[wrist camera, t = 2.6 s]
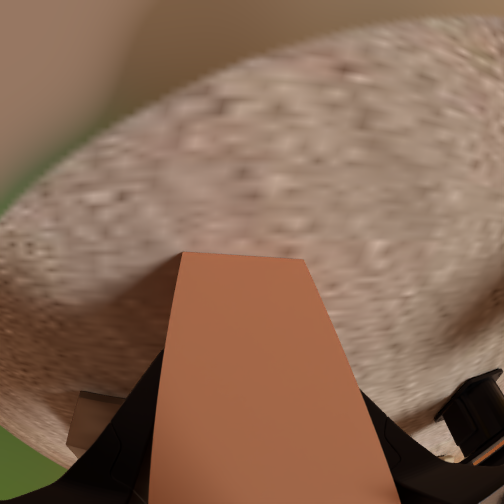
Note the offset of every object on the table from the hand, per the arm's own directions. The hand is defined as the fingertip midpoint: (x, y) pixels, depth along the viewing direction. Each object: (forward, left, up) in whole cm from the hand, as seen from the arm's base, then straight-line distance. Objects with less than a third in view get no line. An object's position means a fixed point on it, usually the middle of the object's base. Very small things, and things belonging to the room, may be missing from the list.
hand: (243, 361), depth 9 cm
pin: (0, 0, -3) cm, 3 cm away
